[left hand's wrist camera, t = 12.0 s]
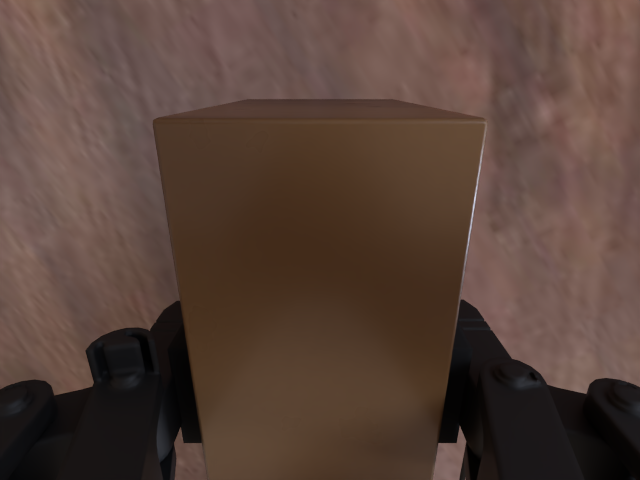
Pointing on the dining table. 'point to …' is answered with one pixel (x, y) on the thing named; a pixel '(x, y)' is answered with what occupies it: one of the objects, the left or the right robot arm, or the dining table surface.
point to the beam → (320, 279)
